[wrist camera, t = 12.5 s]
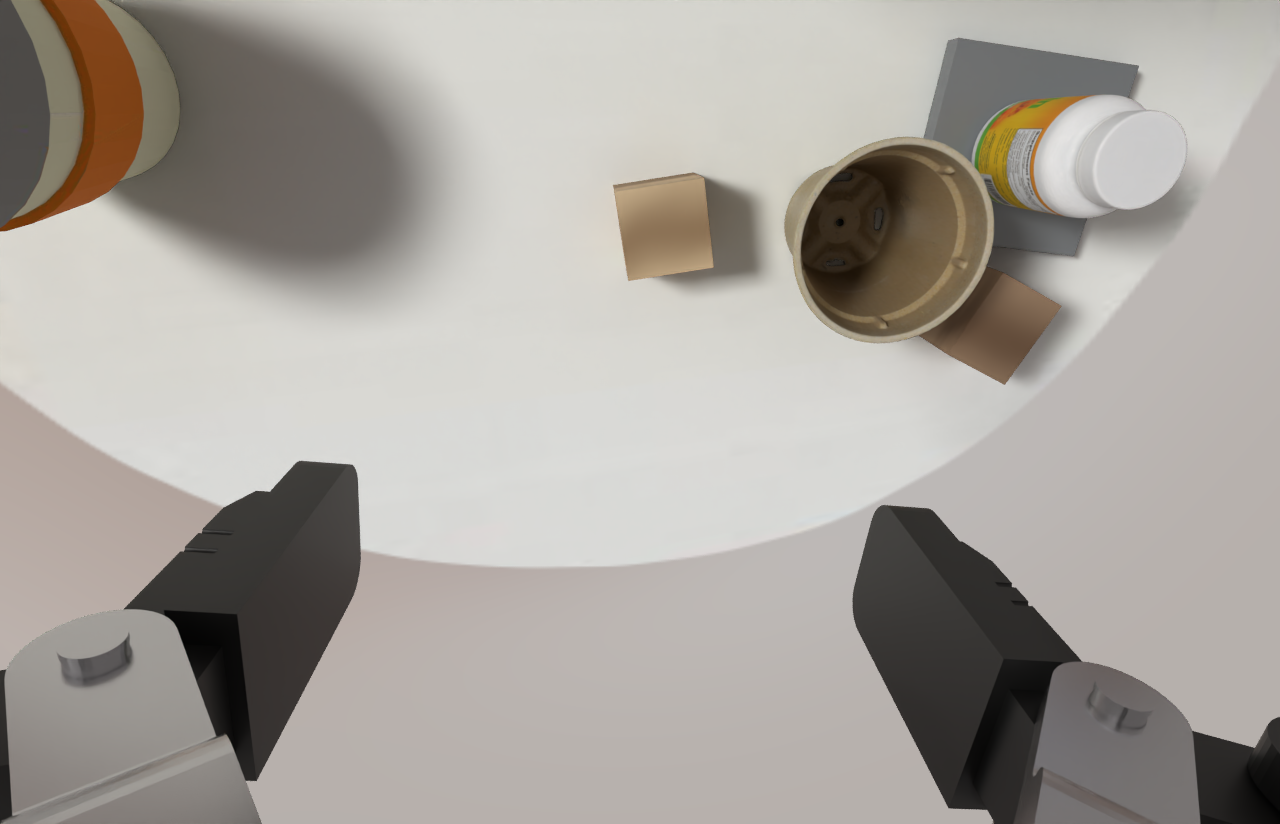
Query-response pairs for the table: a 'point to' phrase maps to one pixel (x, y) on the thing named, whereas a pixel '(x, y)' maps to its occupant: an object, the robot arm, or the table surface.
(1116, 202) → the supplement bottle
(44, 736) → the robot arm
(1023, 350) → the walnut block
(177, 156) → the table surface
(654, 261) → the oak cube
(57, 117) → the reusable coffee cup
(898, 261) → the flower pot
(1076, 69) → the coaster
